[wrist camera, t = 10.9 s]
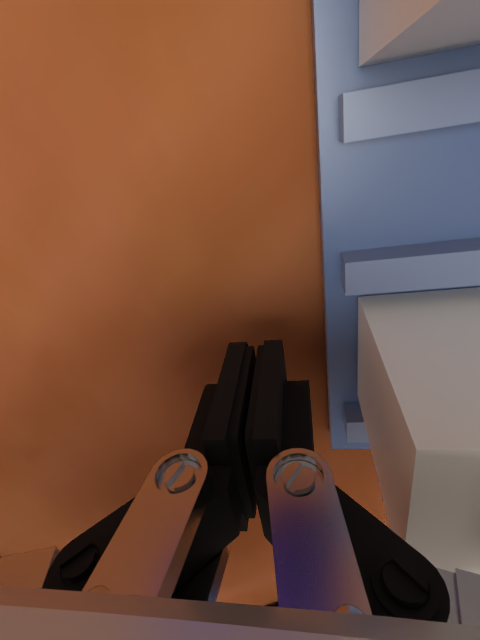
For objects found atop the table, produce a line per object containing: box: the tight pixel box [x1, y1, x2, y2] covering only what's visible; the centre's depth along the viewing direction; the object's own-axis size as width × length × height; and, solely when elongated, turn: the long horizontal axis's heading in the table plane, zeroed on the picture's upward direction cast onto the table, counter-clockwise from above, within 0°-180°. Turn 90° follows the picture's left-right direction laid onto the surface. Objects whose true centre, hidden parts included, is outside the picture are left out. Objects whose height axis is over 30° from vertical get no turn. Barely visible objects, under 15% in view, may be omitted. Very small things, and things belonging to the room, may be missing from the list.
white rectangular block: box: [357, 287, 480, 575], centre depth 9 cm, size 4×4×7 cm
